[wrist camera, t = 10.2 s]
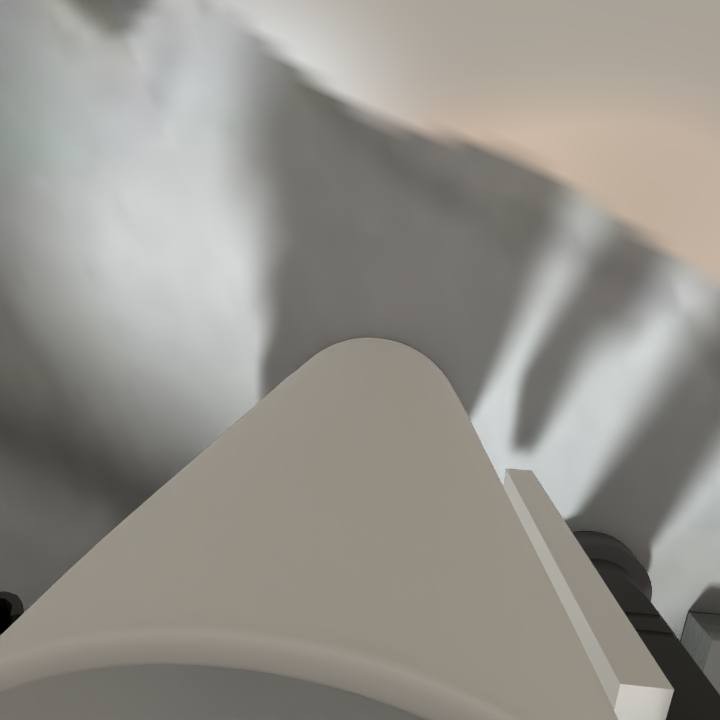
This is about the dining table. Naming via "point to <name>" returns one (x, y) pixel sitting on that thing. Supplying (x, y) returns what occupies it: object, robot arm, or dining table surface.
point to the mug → (314, 575)
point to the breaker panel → (704, 644)
